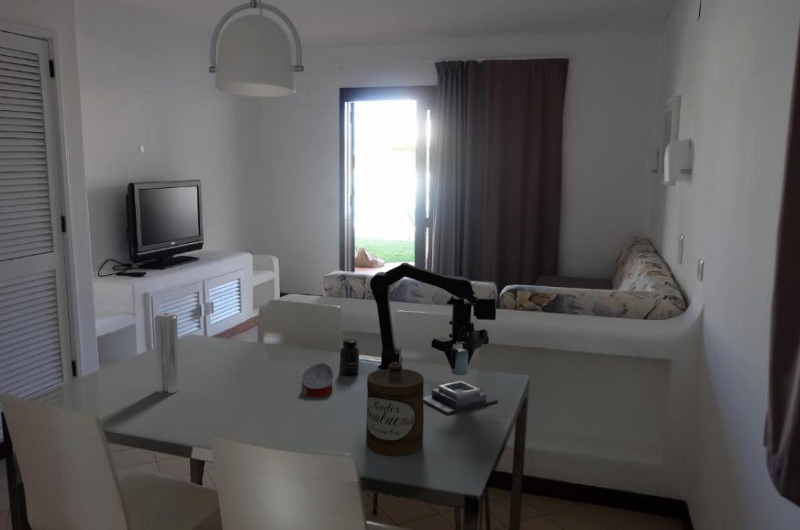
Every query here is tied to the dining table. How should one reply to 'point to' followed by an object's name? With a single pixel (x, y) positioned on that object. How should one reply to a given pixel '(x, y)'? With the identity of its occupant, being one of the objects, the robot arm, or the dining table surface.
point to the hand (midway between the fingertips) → (459, 367)
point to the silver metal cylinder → (167, 353)
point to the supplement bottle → (349, 358)
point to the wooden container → (395, 411)
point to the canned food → (317, 381)
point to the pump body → (461, 362)
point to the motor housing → (457, 397)
